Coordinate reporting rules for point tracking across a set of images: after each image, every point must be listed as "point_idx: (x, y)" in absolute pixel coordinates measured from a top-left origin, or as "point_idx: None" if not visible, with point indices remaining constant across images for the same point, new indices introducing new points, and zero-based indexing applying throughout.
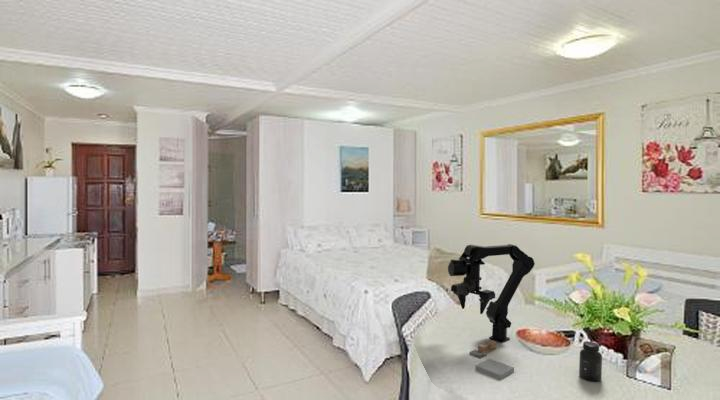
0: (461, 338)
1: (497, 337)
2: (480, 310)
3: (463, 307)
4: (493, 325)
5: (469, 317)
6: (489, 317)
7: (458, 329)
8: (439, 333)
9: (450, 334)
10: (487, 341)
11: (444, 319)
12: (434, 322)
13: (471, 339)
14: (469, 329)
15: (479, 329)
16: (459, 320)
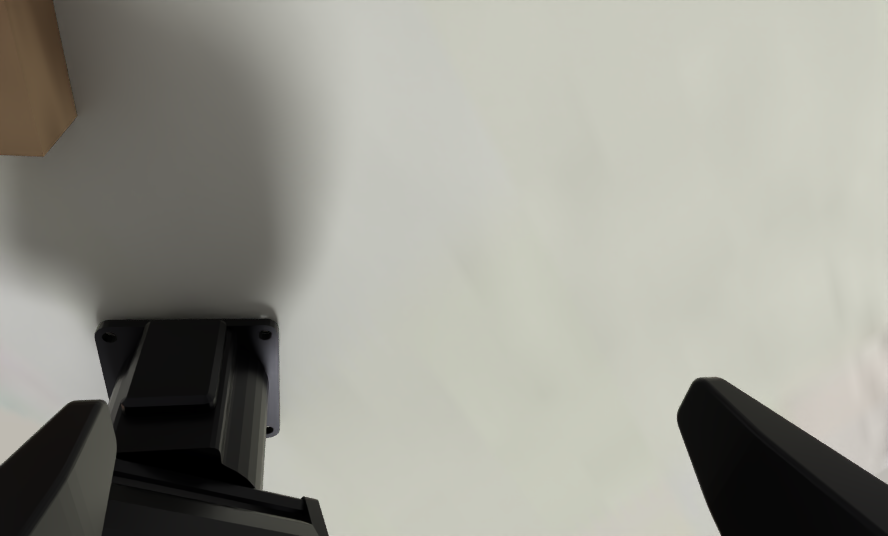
0: (505, 102)
1: (142, 340)
2: (29, 486)
3: (703, 421)
4: (203, 451)
5: (641, 526)
6: (245, 528)
7: (632, 296)
8: (785, 49)
9: (660, 119)
10: (17, 65)
11: (808, 386)
12: (883, 277)
13: (398, 163)
14: (544, 363)
15: (472, 419)
16: None
